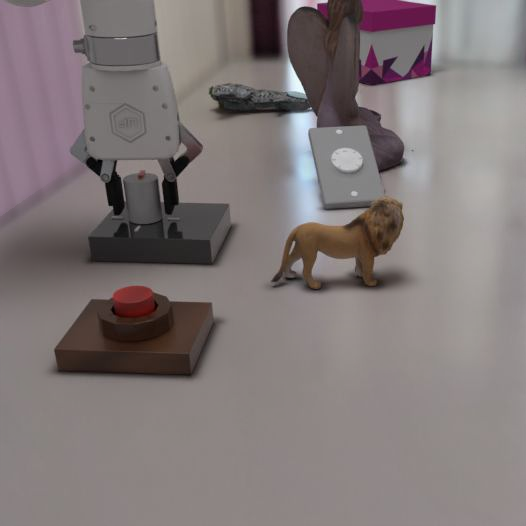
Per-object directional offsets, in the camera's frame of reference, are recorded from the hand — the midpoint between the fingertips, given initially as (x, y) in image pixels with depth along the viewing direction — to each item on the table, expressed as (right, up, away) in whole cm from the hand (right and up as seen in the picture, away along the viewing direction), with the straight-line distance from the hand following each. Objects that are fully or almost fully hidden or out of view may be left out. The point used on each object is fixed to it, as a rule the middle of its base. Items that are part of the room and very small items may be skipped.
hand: (144, 209), depth 95 cm
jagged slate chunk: (+7, +30, +60) cm, 67 cm away
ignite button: (+5, -13, -22) cm, 26 cm away
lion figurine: (+23, -9, -7) cm, 26 cm away
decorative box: (+30, +48, +92) cm, 108 cm away
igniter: (+5, -16, -20) cm, 26 cm away
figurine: (+25, +14, +32) cm, 43 cm away
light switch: (+24, +6, +19) cm, 31 cm away
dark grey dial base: (+2, -4, +2) cm, 5 cm away
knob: (0, -1, +1) cm, 1 cm away
